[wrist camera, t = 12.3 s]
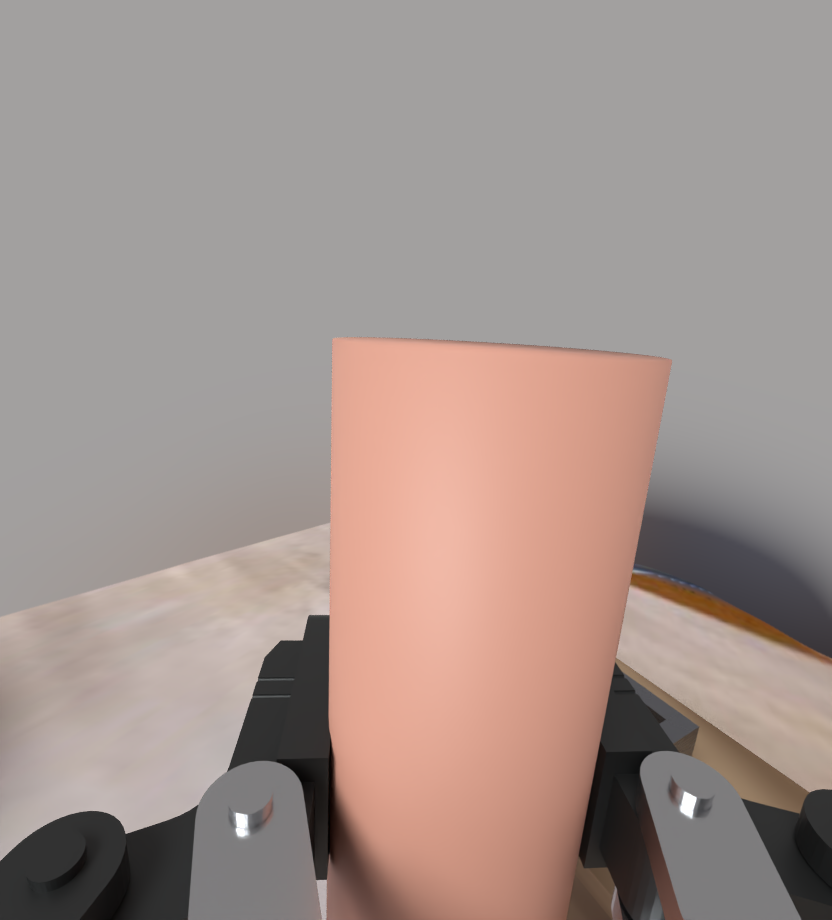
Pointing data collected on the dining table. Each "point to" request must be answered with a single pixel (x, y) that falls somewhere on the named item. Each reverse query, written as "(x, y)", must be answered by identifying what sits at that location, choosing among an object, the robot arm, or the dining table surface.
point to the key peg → (475, 615)
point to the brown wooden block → (706, 744)
